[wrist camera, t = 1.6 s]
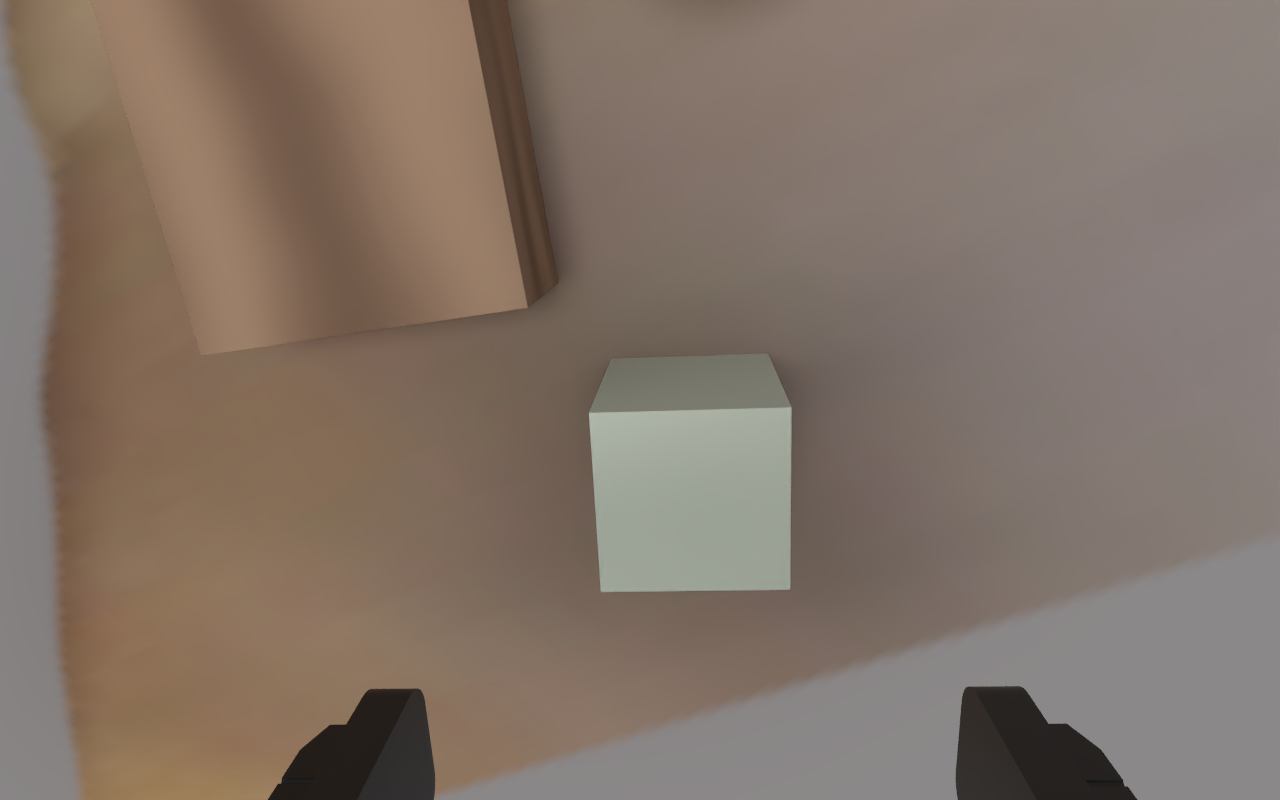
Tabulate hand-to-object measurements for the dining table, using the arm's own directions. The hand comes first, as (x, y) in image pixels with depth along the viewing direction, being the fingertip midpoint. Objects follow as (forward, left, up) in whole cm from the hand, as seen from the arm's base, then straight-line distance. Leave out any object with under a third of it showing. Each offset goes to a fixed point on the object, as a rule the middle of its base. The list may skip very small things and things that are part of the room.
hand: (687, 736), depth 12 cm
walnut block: (+9, -9, -15) cm, 20 cm away
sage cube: (0, 0, -15) cm, 15 cm away
